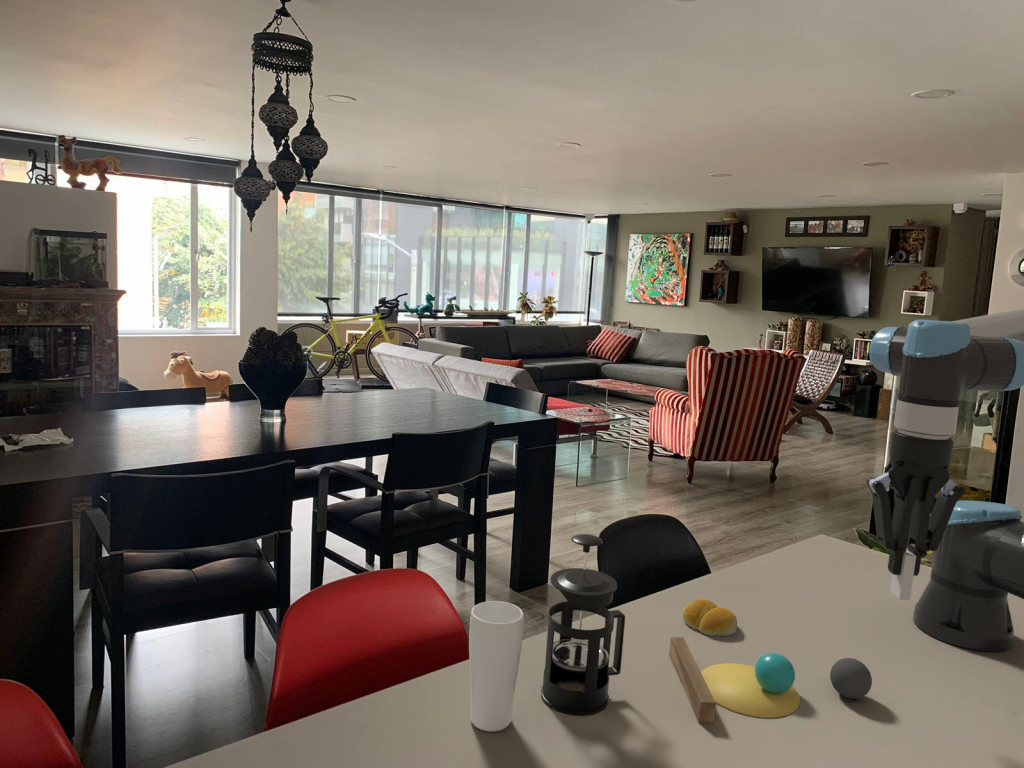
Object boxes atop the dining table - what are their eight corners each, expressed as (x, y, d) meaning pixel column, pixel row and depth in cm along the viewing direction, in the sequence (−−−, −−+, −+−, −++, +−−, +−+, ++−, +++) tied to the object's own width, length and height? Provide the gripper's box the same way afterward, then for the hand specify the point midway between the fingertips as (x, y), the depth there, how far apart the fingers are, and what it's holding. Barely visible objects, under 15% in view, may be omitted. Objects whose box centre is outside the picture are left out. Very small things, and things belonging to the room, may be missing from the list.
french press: (552, 721, 99) (564, 552, 96) (526, 683, 108) (537, 527, 105) (632, 709, 103) (646, 546, 100) (601, 673, 112) (613, 523, 109)
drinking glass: (488, 700, 103) (494, 595, 101) (527, 721, 99) (535, 612, 97) (453, 721, 98) (459, 611, 96) (493, 744, 94) (500, 629, 92)
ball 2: (831, 646, 112) (817, 679, 113) (850, 667, 106) (835, 702, 107) (865, 655, 112) (851, 688, 113) (885, 676, 107) (870, 710, 108)
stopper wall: (681, 655, 119) (683, 637, 119) (713, 723, 101) (715, 702, 101) (669, 654, 119) (670, 636, 118) (698, 722, 101) (700, 701, 101)
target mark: (778, 666, 117) (779, 665, 117) (815, 720, 103) (815, 718, 103) (688, 662, 117) (688, 661, 117) (713, 715, 103) (713, 713, 103)
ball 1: (780, 640, 112) (745, 652, 112) (795, 659, 107) (757, 672, 107) (791, 673, 113) (755, 685, 113) (805, 694, 107) (768, 706, 108)
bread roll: (719, 643, 124) (721, 620, 124) (674, 622, 131) (676, 600, 130) (747, 630, 130) (749, 608, 129) (703, 610, 136) (705, 589, 136)
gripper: (953, 430, 109) (930, 587, 112) (863, 424, 108) (842, 582, 112) (987, 441, 101) (960, 610, 105) (889, 436, 101) (866, 604, 105)
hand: (899, 595), depth 108 cm, fingers closed
